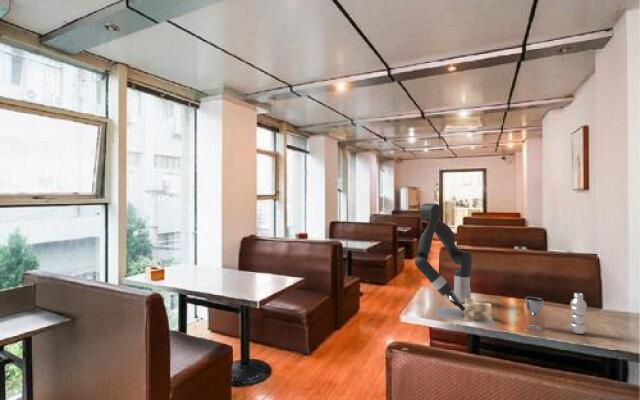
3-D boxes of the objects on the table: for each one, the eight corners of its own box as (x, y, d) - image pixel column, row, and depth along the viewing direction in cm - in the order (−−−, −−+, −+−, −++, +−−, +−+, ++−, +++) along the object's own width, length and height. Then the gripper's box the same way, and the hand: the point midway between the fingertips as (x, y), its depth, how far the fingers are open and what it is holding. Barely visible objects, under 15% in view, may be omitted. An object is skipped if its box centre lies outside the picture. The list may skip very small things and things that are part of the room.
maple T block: (465, 319, 180) (465, 305, 180) (464, 311, 193) (465, 298, 193) (491, 323, 175) (492, 308, 175) (489, 315, 188) (490, 301, 188)
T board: (434, 318, 185) (434, 316, 185) (436, 308, 201) (436, 306, 201) (495, 327, 173) (495, 325, 173) (492, 316, 190) (492, 314, 190)
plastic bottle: (565, 330, 170) (566, 291, 170) (578, 330, 171) (579, 291, 171) (576, 335, 164) (577, 295, 164) (589, 335, 164) (590, 295, 164)
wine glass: (540, 325, 176) (540, 297, 176) (544, 331, 169) (545, 302, 169) (523, 323, 179) (523, 296, 179) (526, 329, 171) (527, 300, 171)
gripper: (446, 283, 184) (469, 309, 180) (446, 278, 197) (468, 302, 192) (435, 292, 187) (458, 317, 182) (437, 286, 199) (458, 310, 194)
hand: (463, 309), depth 187 cm, fingers closed
